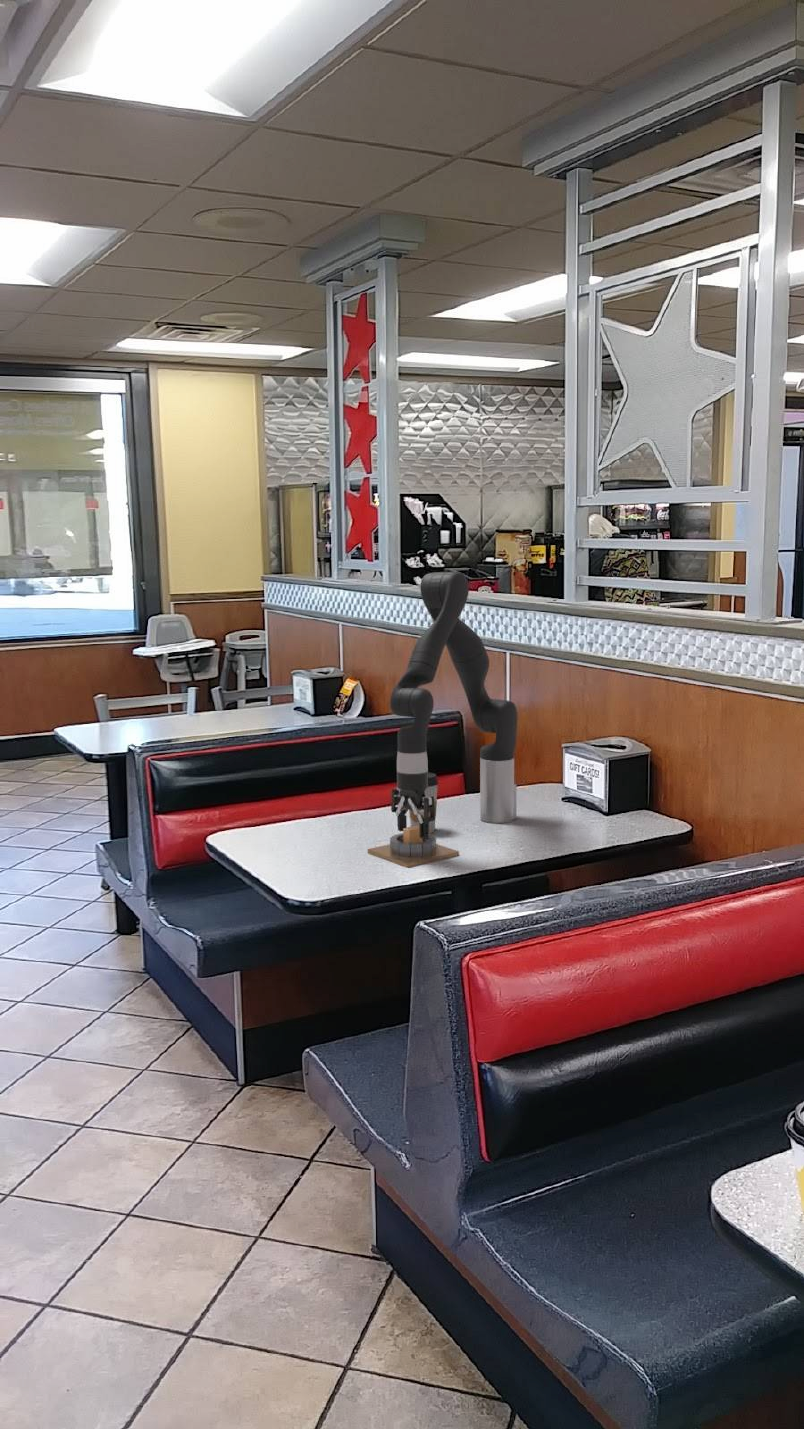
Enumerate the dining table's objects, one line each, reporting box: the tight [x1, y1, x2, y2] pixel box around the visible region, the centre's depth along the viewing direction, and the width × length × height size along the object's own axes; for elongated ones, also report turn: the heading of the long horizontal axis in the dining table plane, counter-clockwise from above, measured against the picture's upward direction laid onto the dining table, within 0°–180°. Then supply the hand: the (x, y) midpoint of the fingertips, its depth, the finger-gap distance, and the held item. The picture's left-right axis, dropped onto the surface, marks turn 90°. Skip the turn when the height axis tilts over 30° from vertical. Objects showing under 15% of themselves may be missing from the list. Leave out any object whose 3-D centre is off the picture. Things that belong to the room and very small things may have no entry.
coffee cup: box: [408, 772, 439, 834], centre depth 295 cm, size 8×8×15 cm
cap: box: [402, 826, 422, 843], centre depth 274 cm, size 6×6×6 cm
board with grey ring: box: [367, 832, 460, 868], centre depth 274 cm, size 16×16×4 cm
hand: (412, 834), depth 274 cm, fingers open, 8 cm apart
